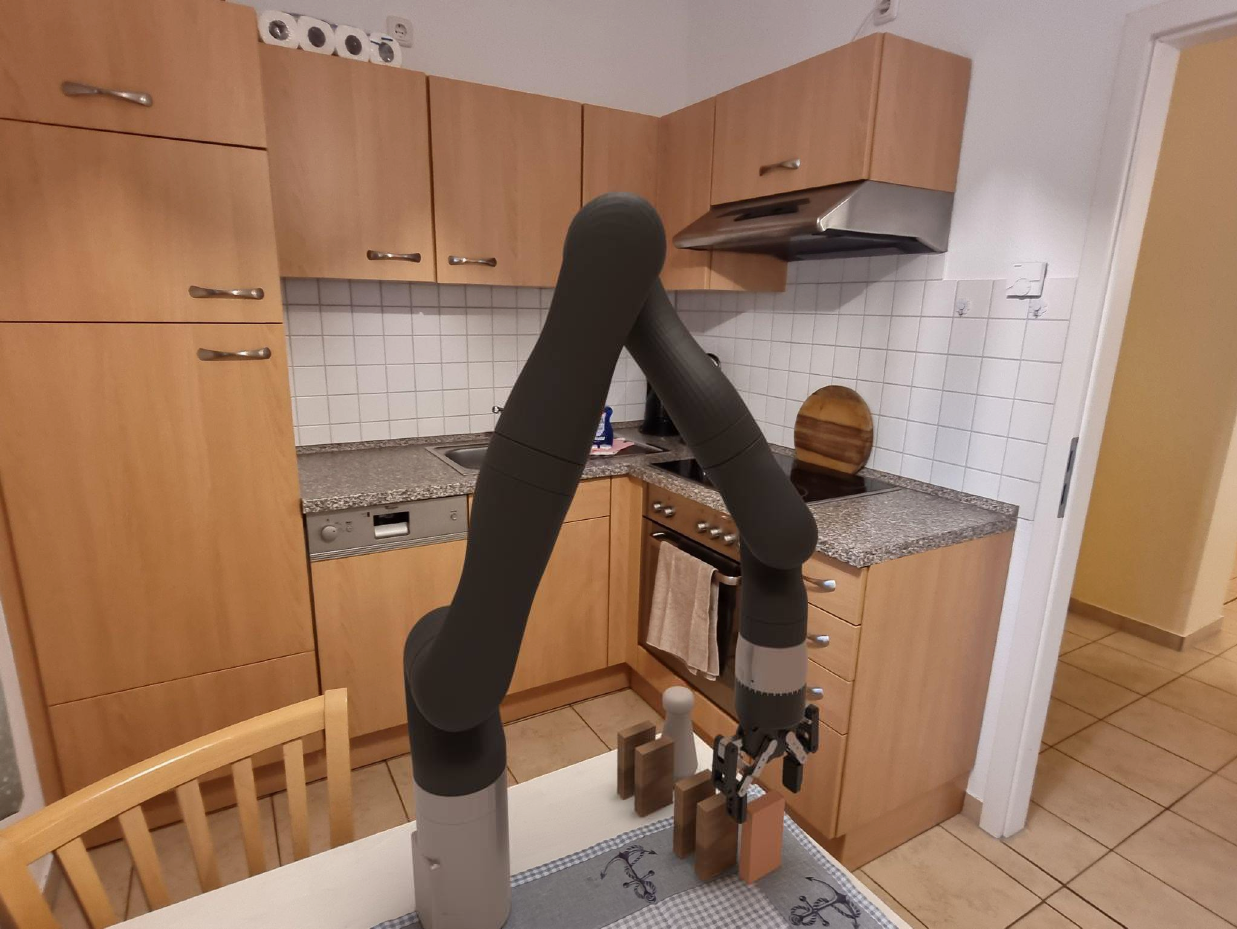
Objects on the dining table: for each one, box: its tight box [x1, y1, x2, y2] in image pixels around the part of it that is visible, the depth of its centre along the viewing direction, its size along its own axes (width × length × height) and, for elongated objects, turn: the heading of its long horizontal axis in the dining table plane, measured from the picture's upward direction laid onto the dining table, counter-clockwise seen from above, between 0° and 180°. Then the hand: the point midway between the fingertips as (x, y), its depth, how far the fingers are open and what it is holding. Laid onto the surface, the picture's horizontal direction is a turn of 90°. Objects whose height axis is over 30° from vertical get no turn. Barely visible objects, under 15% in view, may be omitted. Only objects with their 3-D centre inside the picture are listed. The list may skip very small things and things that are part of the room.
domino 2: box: [633, 735, 675, 819], centre depth 88 cm, size 5×2×9 cm, turn 123°
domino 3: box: [672, 768, 717, 860], centre depth 81 cm, size 5×2×9 cm, turn 123°
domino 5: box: [738, 788, 786, 885], centre depth 78 cm, size 5×2×9 cm, turn 123°
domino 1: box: [616, 719, 657, 800], centre depth 91 cm, size 5×2×9 cm, turn 123°
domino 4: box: [694, 791, 740, 883], centre depth 78 cm, size 5×2×9 cm, turn 123°
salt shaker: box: [660, 685, 699, 788], centre depth 93 cm, size 6×6×13 cm
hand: (765, 803), depth 77 cm, fingers open, 8 cm apart
